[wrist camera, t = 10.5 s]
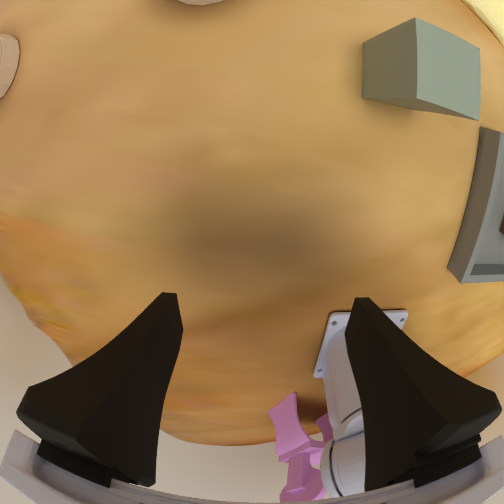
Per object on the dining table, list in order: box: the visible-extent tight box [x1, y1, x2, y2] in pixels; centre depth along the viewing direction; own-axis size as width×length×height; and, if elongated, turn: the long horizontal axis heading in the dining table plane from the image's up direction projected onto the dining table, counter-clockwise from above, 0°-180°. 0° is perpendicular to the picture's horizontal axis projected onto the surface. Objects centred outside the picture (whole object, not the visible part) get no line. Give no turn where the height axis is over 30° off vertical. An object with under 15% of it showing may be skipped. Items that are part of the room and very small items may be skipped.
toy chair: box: [268, 392, 334, 503], centre depth 25 cm, size 8×9×15 cm
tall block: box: [362, 18, 481, 121], centre depth 10 cm, size 4×4×7 cm
